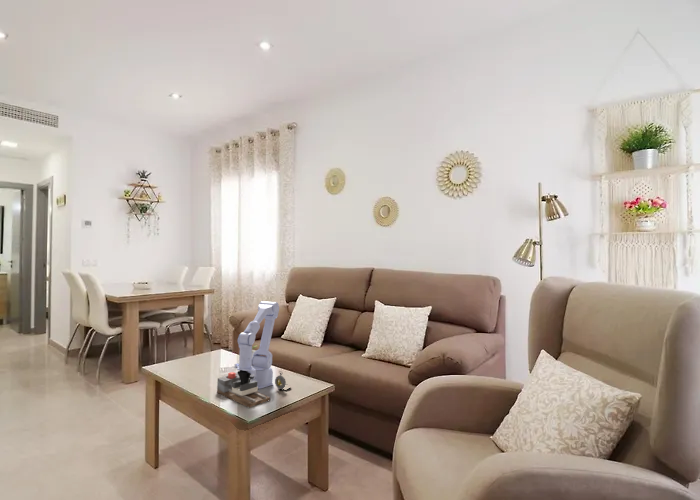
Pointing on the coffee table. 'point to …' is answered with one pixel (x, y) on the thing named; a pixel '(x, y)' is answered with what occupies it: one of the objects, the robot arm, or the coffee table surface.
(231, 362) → the coffee table surface
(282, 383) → the pocket watch
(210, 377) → the coffee table surface
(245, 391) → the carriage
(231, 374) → the button
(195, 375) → the coffee table surface
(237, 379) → the rail board
